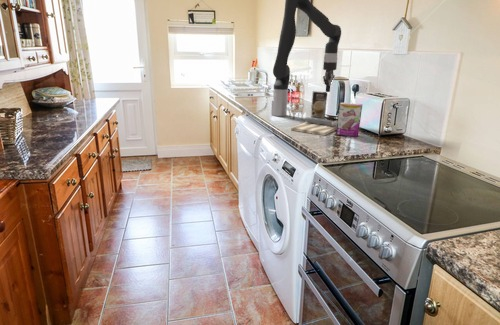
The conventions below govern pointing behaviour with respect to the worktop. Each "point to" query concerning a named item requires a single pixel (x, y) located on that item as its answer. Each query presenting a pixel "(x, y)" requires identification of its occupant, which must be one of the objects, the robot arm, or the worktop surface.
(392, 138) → the worktop surface
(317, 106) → the coffee box
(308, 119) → the swing bar
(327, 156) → the worktop surface
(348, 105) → the candy bar box
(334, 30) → the robot arm
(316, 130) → the striped wooden cutting board
